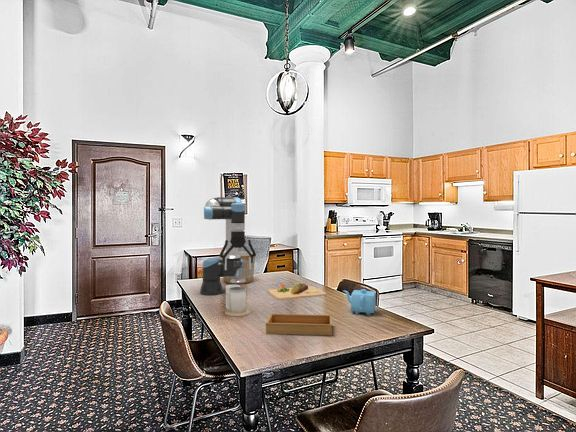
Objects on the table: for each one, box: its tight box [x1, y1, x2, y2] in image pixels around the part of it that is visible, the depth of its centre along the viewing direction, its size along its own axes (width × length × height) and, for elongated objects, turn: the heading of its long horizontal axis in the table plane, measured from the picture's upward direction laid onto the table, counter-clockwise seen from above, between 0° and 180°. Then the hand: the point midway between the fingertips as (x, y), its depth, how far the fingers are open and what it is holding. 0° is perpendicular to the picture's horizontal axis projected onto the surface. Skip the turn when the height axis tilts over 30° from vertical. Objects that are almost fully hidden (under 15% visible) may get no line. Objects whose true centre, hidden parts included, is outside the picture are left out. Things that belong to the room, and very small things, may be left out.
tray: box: [265, 313, 333, 336], centre depth 177 cm, size 31×15×6 cm, turn 84°
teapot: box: [343, 288, 377, 316], centre depth 206 cm, size 18×16×13 cm
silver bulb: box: [230, 261, 245, 283], centre depth 202 cm, size 8×8×11 cm
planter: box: [221, 250, 256, 285], centre depth 285 cm, size 26×26×22 cm
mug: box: [225, 284, 241, 294], centre depth 222 cm, size 9×12×11 cm
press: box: [224, 286, 251, 317], centre depth 203 cm, size 14×14×13 cm
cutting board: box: [267, 282, 328, 301], centre depth 248 cm, size 35×23×8 cm
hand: (237, 269), depth 202 cm, fingers open, 13 cm apart
